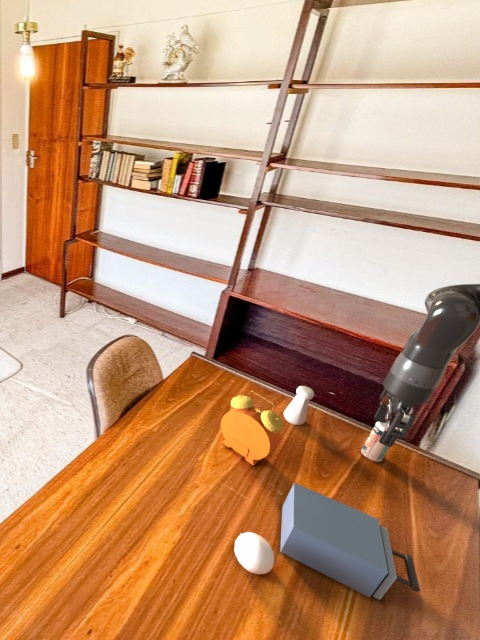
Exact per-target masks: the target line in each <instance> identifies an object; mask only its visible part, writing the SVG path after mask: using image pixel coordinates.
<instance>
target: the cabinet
mask: <svg viewBox="0 0 480 640" xmlns="http://www.w3.org/2000/svg"><path fill="white" fill-rule="evenodd" d="M380 526H381V525H380V519H379V518H378V517H374V516H373V515H370V514H367V513H366V512H363V511H361V510H359V509H356V508H354V507H352V506H349V505H347V504H345V503H342V502H341V501H338V500H336V499H333V498H331V497H328V496H327V495H324V494H322V493H320V492H317V491H315V490H312V489H310V488H307V487H306V486H303V485H301V484H299V483H296V482H293V483H292V486H291V488H290V490H289V492H288V494H287V496H286V498H285V501H284V503H283V505H282V508H281V529H280V550H279V552H280V553H281V554H284V555H286V556H288V557H289V558H291V559H293V560H295V561H298V562H299V563H301V564H303V565H305V566H307V567H309V568H310V569H311V568H312V569H313V570H315V571H317V572H319V573H321V574H323V575H325V576H326V577H328V578H331V579H332V580H334V581H337V582H338V583H341V584H342V585H344V586H346V587H348V588H349V589H352V590H354V591H356V592H357V593H360V594H362V595H363V596H366V597H367V598H371V596H373V595H372V594H373V592H374V591H375V590H376V588H377V587H378V586H379V584H380V583H381V582H382V580H383V579H384V578H385V576H386V575H387V574H388V568H387V562H386V557H385V551H384V546H383V541H382V535H381V530H380Z"/></svg>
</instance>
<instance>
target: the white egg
mask: <svg viewBox="0 0 480 640" xmlns="http://www.w3.org/2000/svg"><path fill="white" fill-rule="evenodd" d="M233 549H234V554H235V557H236V558H237V561H238V563H239V564H240V565H241V566H242V567H243V568H244V569H245V570H246V571H248V572H250V573H252V574H254V575H266V574H267V573H269V572H270V571H271V570H272V569H273V568H274V565H275V555H274V551H273V548H272V546H271V545H270V543H269V542H268V541H267V540H266V539H265V538H264V537H262V535H259V534H257V533H254V532H252V531H251V532H243V533H240V534H239V535H238V536H237V537H236V538H235V540H234V548H233Z"/></svg>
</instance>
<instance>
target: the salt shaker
mask: <svg viewBox="0 0 480 640" xmlns="http://www.w3.org/2000/svg"><path fill="white" fill-rule="evenodd" d="M295 393H296V395H295V397H294V398H293V399H292V400H291V401H290V403H289V404H288V405H287V407H286V408H285V410H284V411H283V418H284V419H285V420H286V422H288V423H290V424H292V425H294V426H302V425H304V424H305V422H306V421H307V418H308V417H307V416H308V409H309V403H310V400H313V398H314V396H315V391H314V390H313V389H312V388H311V387H308V386H306V385H299V386H298V387H297V388H296V391H295Z"/></svg>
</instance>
